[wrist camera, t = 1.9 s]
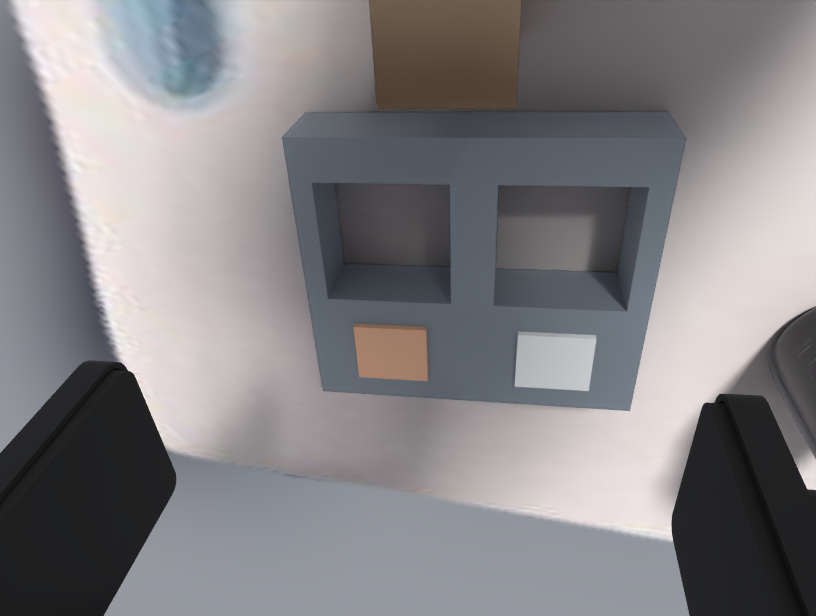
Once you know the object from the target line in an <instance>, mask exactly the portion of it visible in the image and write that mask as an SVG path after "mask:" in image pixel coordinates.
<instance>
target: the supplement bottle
mask: <svg viewBox="0 0 816 616" xmlns="http://www.w3.org/2000/svg"><path fill="white" fill-rule="evenodd" d="M770 365H771V373H772V376H773V379H774V381H775V384H776V386H777V388H778V389H779V391H780V394H781V395H782V397H783V399H784V401H785V403H786V405H787V407H788V409H789V410H790V412H791V414H792V416H793V418H794V420H795V422H796V423H797V425H798V427H799V429H800V431H801V433H802V435H803V436H804V438H805V440H806V442H807V444H808V446H809V448H810V450H811V451H812V453H813V455H814V457H815V459H816V308H814V309H812V310H810V311H808V312H806V313H805V314H803V315H801V316H800V317H799V318H797V319H796V320H795V321H793V322H792V323H791V324H790V325H789V326H788V327H787V328H786V329H785V330H784V331H783V333H782V334H781V335H780V337H779V338H778V340H777V341H776V344H775V346H774V348H773V351H772V354H771V362H770Z"/></svg>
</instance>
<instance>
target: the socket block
mask: <svg viewBox="0 0 816 616" xmlns="http://www.w3.org/2000/svg"><path fill="white" fill-rule="evenodd" d="M282 140H283V146H284V152H285V158H286V164H287V171H288V177H289V183H290V189H291V195H292V202H293V208H294V214H295V220H296V226H297V232H298V239H299V245H300V251H301V257H302V263H303V270H304V276H305V282H306V288H307V294H308V301H309V307H310V313H311V319H312V325H313V331H314V338H315V344H316V350H317V356H318V362H319V369H320V375H321V381H322V387H323V391H332V392H347V393H362V394H378V395H393V396H408V397H424V398H439V399H455V400H470V401H485V402H501V403H516V404H531V405H547V406H562V407H577V408H593V409H608V410H623V411H630V407H631V403H632V398H633V393H634V388H635V383H636V378H637V374H638V369H639V364H640V359H641V354H642V349H643V344H644V340H645V335H646V330H647V325H648V320H649V315H650V310H651V306H652V301H653V296H654V291H655V286H656V281H657V276H658V272H659V267H660V262H661V257H662V252H663V247H664V243H665V238H666V233H667V228H668V223H669V218H670V213H671V209H672V204H673V199H674V194H675V189H676V184H677V179H678V175H679V170H680V165H681V160H682V155H683V150H684V145H685V141H686V138H685V136H684V135H683V133H682V132H681V130H680V129H679V127H678V126H677V124H676V123H675V121H674V120H673V118H672V117H671V115H670V114H669V112H668V111H592V112H308V113H305V114H304V115H303V116H302V117H301V118H300V119H299V120H298V121H297V122H296V123H295V124H294V125H293V126H292V127H291V128H290V130H289V131H288V132H287V133H286V134H285V135H284V136H283V137H282ZM335 183H367V184H439V185H450V260H451V267H437V266H407V265H378V264H348V263H344V255H343V247H342V238H341V230H340V221H339V213H338V204H337V196H336V187H335ZM499 185H512V186H584V187H631V189H630V196H629V202H628V208H627V214H626V220H625V226H624V232H623V238H622V245H621V251H620V257H619V263H618V269H617V273H616V272H586V271H557V270H527V269H497V268H496V251H497V224H498V197H499Z"/></svg>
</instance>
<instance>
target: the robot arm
mask: <svg viewBox="0 0 816 616" xmlns="http://www.w3.org/2000/svg"><path fill="white" fill-rule="evenodd" d="M175 485H176V473H175V470H174V468H173V465H172V463H171V461H170V458H169V456H168V454H167V451H166V449H165V446H164V444H163V442H162V439H161V437H160V435H159V432H158V430H157V427H156V425H155V423H154V420H153V418H152V416H151V413H150V411H149V409H148V406H147V404H146V401H145V399H144V397H143V394H142V392H141V390H140V387H139V385H138V382H137V380H136V378H135V376H134V374H133V373H132V372H130V371H128V370H127V368H126V367H125V365H123V364H122V363H119V362H106V361H86V362H83V363H82V364H81V365H80V366H79V367H78V368H77V369H76V370H75V371H74V372H73V373H72V374H71V375H70V376H69V378H68V379H67V380H66V381H65V382H64V383H63V384H62V385H61V386H60V388H59V389H58V390H57V391H56V392H55V393H54V394H53V395H52V396H51V398H50V399H49V400H48V401H47V402H46V403H45V404H44V405H43V407H41V409H40V410H39V411H38V412H37V413H36V414H35V415H34V416H33V418H32V419H31V420H30V421H29V422H28V423H27V424H26V425H25V426H24V428H23V429H22V430H21V431H20V432H19V433H18V434H17V435H16V436H15V437H14V439H13V440H12V441H11V442H10V443H9V444H8V445H7V446H6V448H5V449H4V450H3V451H2V452H1V453H0V616H104V614H105V612H106V610H107V609H108V607H109V605H110V603H111V601H112V600H113V598H114V596H115V594H116V593H117V591H118V589H119V587H120V586H121V584H122V582H123V580H124V579H125V577H126V575H127V573H128V571H129V570H130V568H131V566H132V564H133V563H134V561H135V559H136V557H137V556H138V554H139V552H140V550H141V549H142V547H143V545H144V543H145V542H146V540H147V538H148V536H149V534H150V533H151V531H152V529H153V527H154V526H155V524H156V522H157V520H158V519H159V517H160V515H161V513H162V511H163V510H164V508H165V506H166V505H167V503H168V501H169V499H170V497H171V496H172V494H173V491H174V489H175ZM672 536H673V542H674V546H675V550H676V555H677V560H678V564H679V569H680V574H681V578H682V583H683V587H684V592H685V596H686V601H687V606H688V610H689V615H690V616H816V490H808V489H807V488H806V486H805V484H804V482H803V479H802V477H801V475H800V473H799V470H798V468H797V466H796V464H795V462H794V459H793V457H792V455H791V453H790V451H789V448H788V446H787V444H786V442H785V440H784V437H783V435H782V433H781V431H780V428H779V426H778V424H777V422H776V420H775V417H774V415H773V413H772V411H771V409H770V406H769V404H768V402H767V401H766V399H765V398H764V397H762V396H754V395H735V394H719V396H718V397H717V398H716V401H715V403H705V404H704V405H703V407H702V410H701V413H700V417H699V420H698V424H697V428H696V431H695V435H694V438H693V442H692V446H691V449H690V453H689V456H688V460H687V464H686V467H685V471H684V474H683V478H682V482H681V485H680V489H679V492H678V496H677V500H676V503H675V507H674V510H673V514H672Z"/></svg>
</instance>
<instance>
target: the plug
mask: <svg viewBox="0 0 816 616" xmlns="http://www.w3.org/2000/svg"><path fill="white" fill-rule="evenodd" d="M369 5H370V19H371V33H372V46H373V60H374V74H375V87H376V101H377V109H516V99H517V79H518V59H519V39H520V19H521V0H369Z"/></svg>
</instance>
